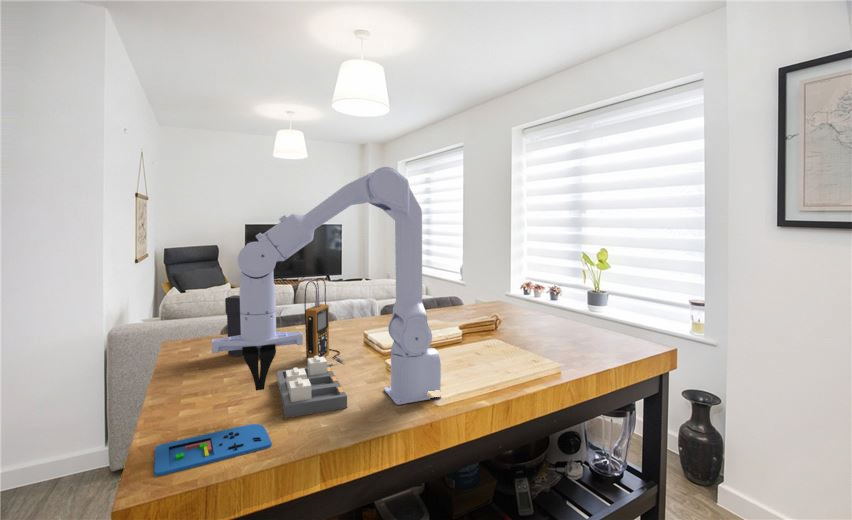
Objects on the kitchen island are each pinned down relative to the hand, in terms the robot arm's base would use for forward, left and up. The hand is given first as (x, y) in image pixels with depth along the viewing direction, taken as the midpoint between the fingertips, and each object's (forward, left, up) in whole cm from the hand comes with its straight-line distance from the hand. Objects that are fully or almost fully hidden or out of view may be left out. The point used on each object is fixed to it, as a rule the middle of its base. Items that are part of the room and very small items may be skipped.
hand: (259, 388), depth 73 cm
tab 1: (-7, -6, -4) cm, 10 cm away
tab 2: (-7, 0, -4) cm, 8 cm away
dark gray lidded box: (+1, -36, -5) cm, 36 cm away
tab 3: (-12, -12, -4) cm, 17 cm away
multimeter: (-17, -25, -5) cm, 31 cm away
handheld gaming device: (+7, +9, -5) cm, 12 cm away
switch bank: (-9, -6, -5) cm, 12 cm away
